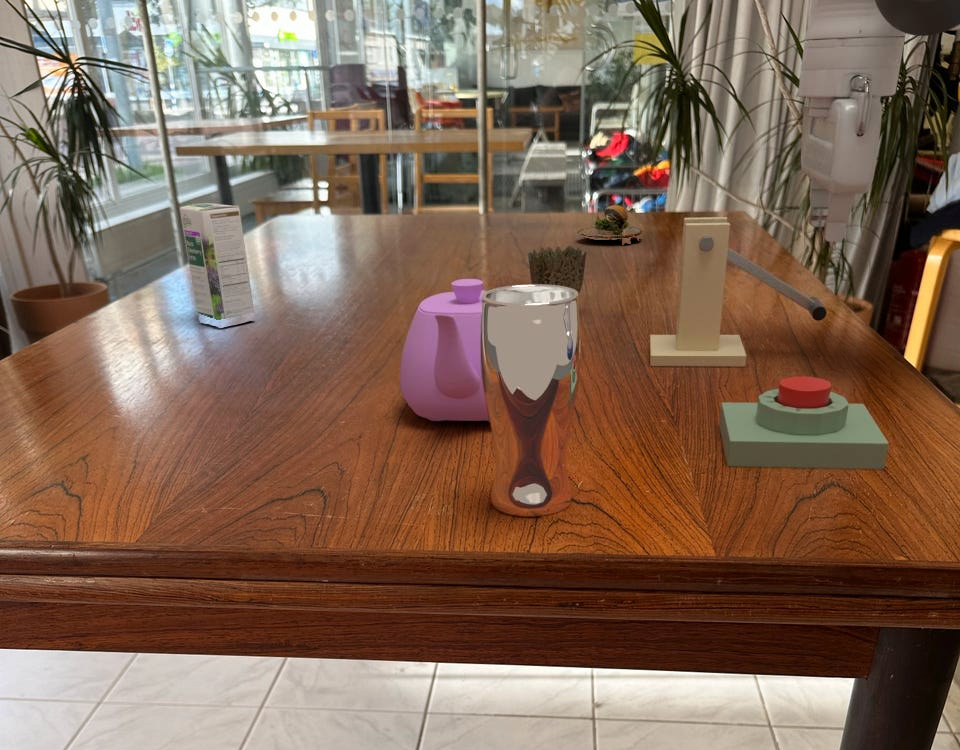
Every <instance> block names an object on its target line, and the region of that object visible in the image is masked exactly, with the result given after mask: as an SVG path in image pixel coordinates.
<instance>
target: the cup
mask: <svg viewBox="0 0 960 750" xmlns="http://www.w3.org/2000/svg"><path fill="white" fill-rule="evenodd" d="M554 250H555V251H554ZM554 250H553V248H552V247H550V246H548V247H546V248H544V247H543V246H541V247H540V250H539V251H538V252H537V251H536V249H535V248H534V249H533V251H530V250H528V251H527V256H528V258H527V259H528V266H529V267H528V268H529V274H530V281H531V282H530V283H531V284H546V285H558V286H565V287H569V288H572V289H575V290H576V291H577V292H578V293H579V294H580V293H581V290H582V286H583V283H584V282H583V281H584V276H585V267H586V259H587V252H588V251H587V248H586V249H585V250H584V251H583V253H582V248H581V247H579V246H578V247H577V249H576V248H575V247H573V246H571V245H568V246H567V247H566V248H565V249H564V250H562V248H561V247H560V246H556V248H555V249H554Z"/></svg>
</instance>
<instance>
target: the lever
mask: <svg viewBox="0 0 960 750" xmlns="http://www.w3.org/2000/svg"><path fill="white" fill-rule="evenodd" d="M699 223H704V222H702V221H701V220H700V221H699ZM727 262H730V263H731V264H733V265H734V266H736V267H738V269H741V270H742V271H744V272H746V273H747V274H749V275H750V276H752V277H753V278H755V279H756V280H759V281H760V282H762V283H763V284H765V285H767V286H768V287H770V288H771V289H773V290H775V291H776V292H777V293H779V294H781V295H782V296H784V297H786V298H787V299H789V300H791V301H792V302H794V303H795V304H797V305H799V306H800V307H802V308H804V309H805V310H807V311H808V312H809V314H810V316H811V317H812V319H813V320H814V321H817V322H820V321H822V320H824V319H825V318H826V317H827V313H828V311H827V309H826V308H825V306H824V305H823V303H822V302H821V301H820V299H819V298H818V297H817V296H810V297H809V296H807V295H806V294H804V293H803V292H801V291H799V290H798V289H796V288H795V287H793V286H792V285H790V284H788V283H787V282H785V281H783V280H781V279H780V278H778V277H777V276H775V275H773V274H772V273H770V272H769V271H768V270H766V269H765V268H763V267H761V266H760V265H758V264H756V263H754V262H753V261H752V260H750V259H748V258H747V257H745V256H744V255H742V254H740V253H739V252H737V251H736V250H733V249H732V248H730V247H729V246H728V253H727Z"/></svg>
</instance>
